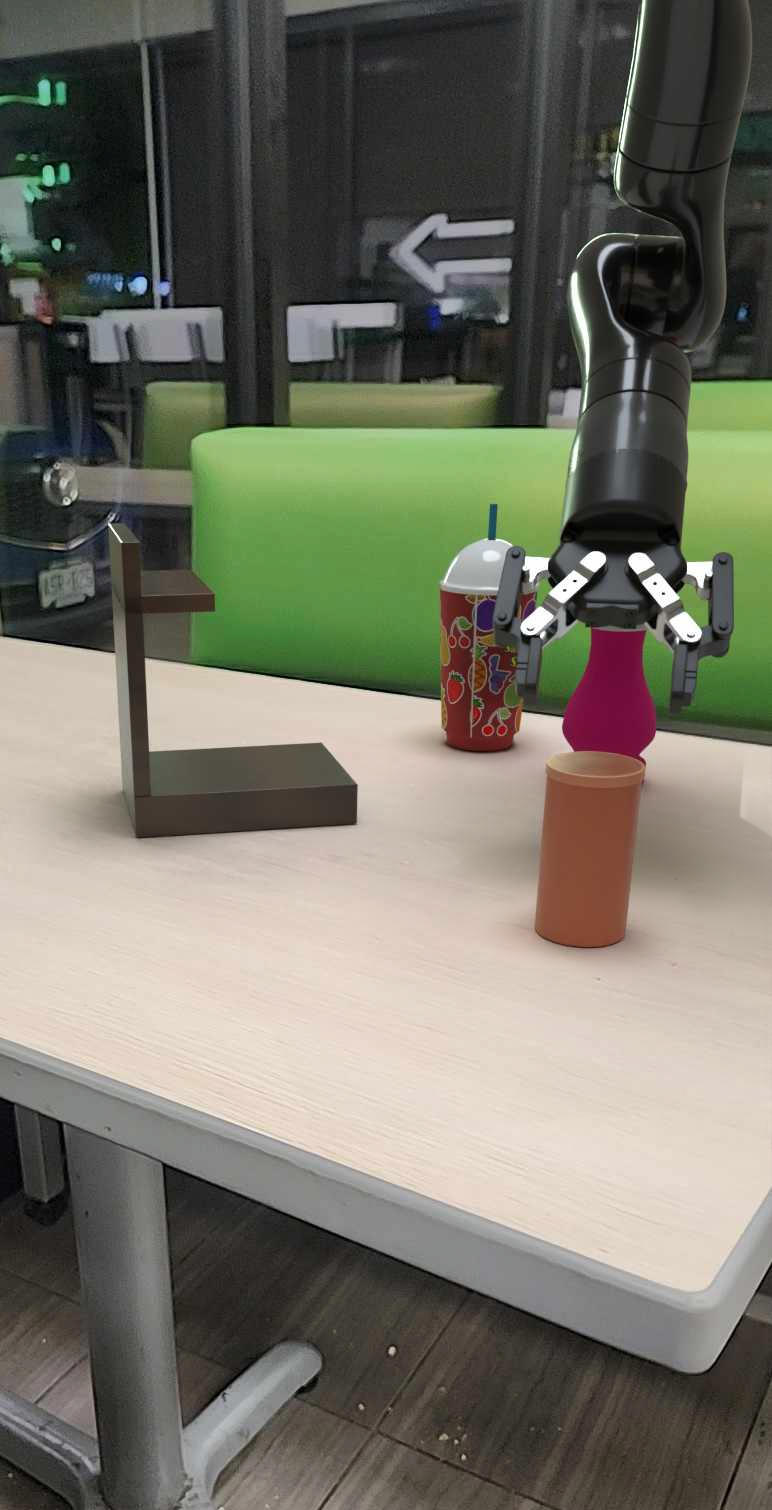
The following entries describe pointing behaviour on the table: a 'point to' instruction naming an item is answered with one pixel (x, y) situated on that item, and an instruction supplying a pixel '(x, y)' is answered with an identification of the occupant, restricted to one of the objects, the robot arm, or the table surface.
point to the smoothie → (478, 649)
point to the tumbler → (587, 847)
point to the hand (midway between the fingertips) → (602, 703)
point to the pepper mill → (612, 697)
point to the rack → (211, 780)
